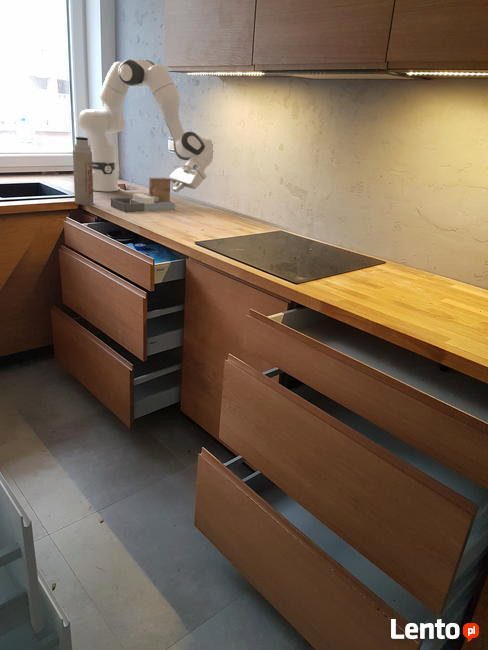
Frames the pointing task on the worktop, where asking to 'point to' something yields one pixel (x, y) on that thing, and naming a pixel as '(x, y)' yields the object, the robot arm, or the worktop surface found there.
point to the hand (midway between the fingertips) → (174, 190)
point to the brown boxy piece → (159, 189)
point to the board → (157, 205)
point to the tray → (126, 205)
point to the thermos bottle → (83, 172)
